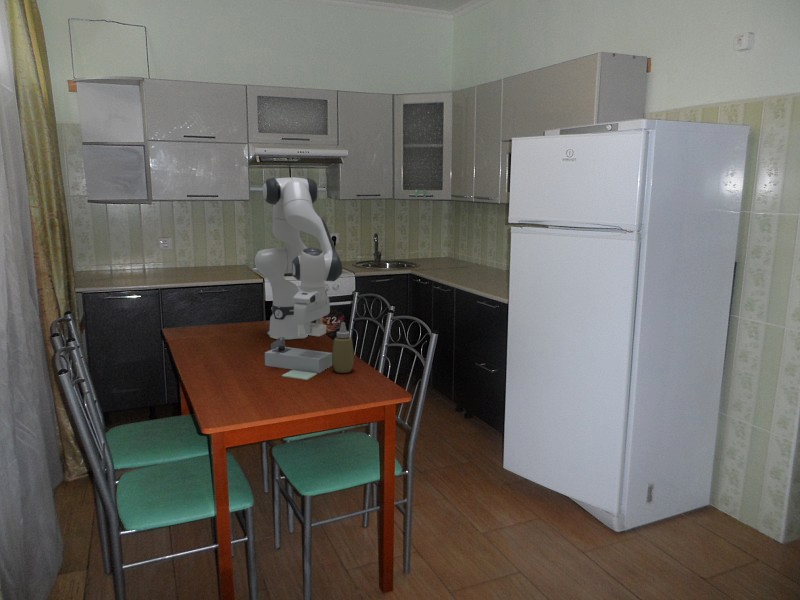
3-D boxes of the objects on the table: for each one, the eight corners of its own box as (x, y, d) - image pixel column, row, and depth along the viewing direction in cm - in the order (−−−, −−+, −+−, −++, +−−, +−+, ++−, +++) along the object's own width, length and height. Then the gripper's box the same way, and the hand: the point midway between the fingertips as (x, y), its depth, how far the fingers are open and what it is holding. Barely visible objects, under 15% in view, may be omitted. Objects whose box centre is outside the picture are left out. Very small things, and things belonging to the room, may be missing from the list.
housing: (279, 358, 234) (279, 345, 233) (332, 365, 226) (332, 352, 225) (265, 365, 224) (264, 351, 223) (319, 373, 216) (318, 358, 215)
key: (285, 348, 228) (285, 337, 227) (276, 355, 218) (275, 343, 217) (279, 348, 228) (279, 337, 227) (269, 355, 219) (269, 343, 218)
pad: (292, 370, 219) (292, 369, 219) (316, 374, 215) (316, 373, 215) (281, 376, 212) (281, 375, 212) (306, 380, 209) (306, 378, 209)
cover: (306, 330, 225) (306, 321, 224) (326, 333, 222) (326, 323, 221) (299, 333, 220) (299, 324, 219) (319, 336, 217) (319, 326, 216)
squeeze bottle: (354, 374, 216) (354, 324, 213) (331, 374, 215) (331, 324, 212) (354, 367, 224) (354, 319, 221) (332, 367, 223) (332, 319, 220)
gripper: (319, 288, 229) (319, 324, 231) (290, 298, 210) (290, 337, 213) (334, 290, 226) (334, 326, 229) (306, 300, 208) (306, 339, 210)
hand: (312, 331), depth 221 cm, fingers closed on cover, 5 cm apart
